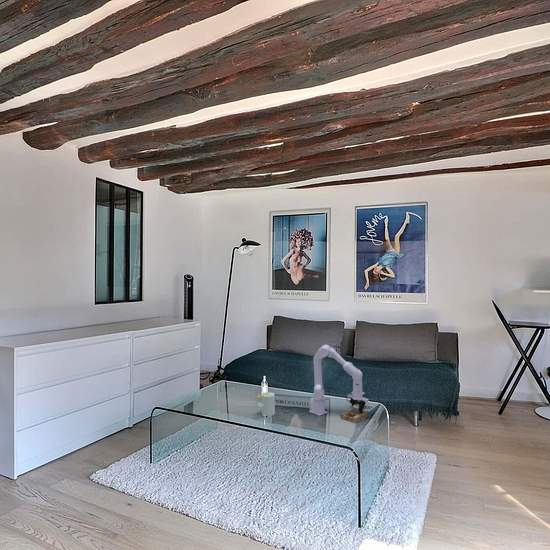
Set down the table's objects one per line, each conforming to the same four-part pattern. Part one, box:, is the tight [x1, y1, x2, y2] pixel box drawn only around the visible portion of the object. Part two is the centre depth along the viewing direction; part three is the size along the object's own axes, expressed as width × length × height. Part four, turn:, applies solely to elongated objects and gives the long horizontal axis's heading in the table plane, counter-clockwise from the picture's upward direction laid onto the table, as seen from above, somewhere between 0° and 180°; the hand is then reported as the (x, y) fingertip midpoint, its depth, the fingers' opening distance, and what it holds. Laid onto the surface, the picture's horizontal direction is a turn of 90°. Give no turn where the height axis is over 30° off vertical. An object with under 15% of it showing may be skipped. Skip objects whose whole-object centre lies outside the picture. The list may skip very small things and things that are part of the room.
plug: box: [352, 404, 361, 414], centre depth 261 cm, size 4×4×7 cm
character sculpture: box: [256, 391, 277, 415], centre depth 267 cm, size 20×12×13 cm, turn 145°
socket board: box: [340, 408, 370, 424], centre depth 259 cm, size 11×14×3 cm
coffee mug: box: [346, 391, 365, 404], centre depth 276 cm, size 12×9×10 cm
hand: (357, 411), depth 262 cm, fingers open, 4 cm apart
